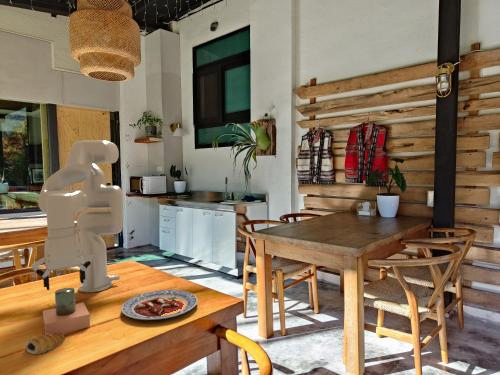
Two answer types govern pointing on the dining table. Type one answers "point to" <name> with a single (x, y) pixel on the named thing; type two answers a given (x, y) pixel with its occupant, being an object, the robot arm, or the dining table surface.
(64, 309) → the tea tin
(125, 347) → the dining table surface
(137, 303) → the ceramic plate
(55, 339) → the pastry
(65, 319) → the terracotta stand
